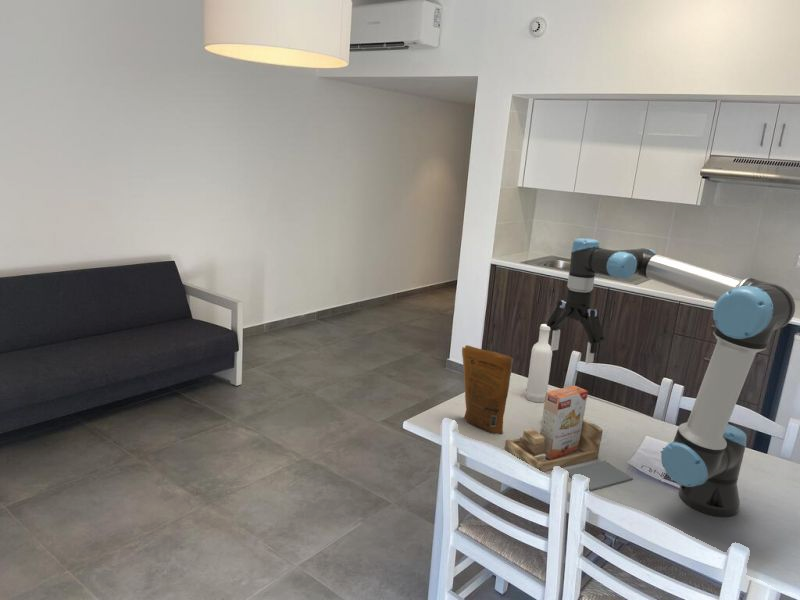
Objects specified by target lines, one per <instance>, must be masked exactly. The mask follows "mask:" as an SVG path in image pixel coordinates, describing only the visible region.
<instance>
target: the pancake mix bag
mask: <svg viewBox="0 0 800 600" xmlns="http://www.w3.org/2000/svg"><path fill="white" fill-rule="evenodd" d="M461 355H462V368H463V370H462V371H463V381H464V384H463V385H464V393H465V394H464V399H465V408H466V409H465V410H466V411H465V414H464V420H465V422H466V423H468V424H471V425H472V426H475V427H477V428H479V429H482V430H484V431H486V432H488V433H490V434H495V435H496V434H498V435H499V434H504V430H503V429H504V415H505V410H506V404H507V398H508V394H509V389H510V388H509V387H510V383H511V382H510V381H511V375H512V369H513V363H514V358H512V357H511V356H509V355H507V354H503V353H500V352H496V351H492V350H486V349H483V348H478V347H474V346H471V345H468V344H466V345H465V346H464V347H463V346H462V349H461Z"/></svg>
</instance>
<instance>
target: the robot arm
mask: <svg viewBox="0 0 800 600" xmlns="http://www.w3.org/2000/svg"><path fill="white" fill-rule="evenodd" d="M570 254H571V255H570V265H569V271H568V278H567V286H566V287H567V289H566V293H565V294H566V296H565V300H564V299H562V300H558V301H557V304H556V307H555V309H554V311H553V312H552V314H551V315H550V317H549V319H548V321H547V323H546V324H547V326H549V327H550V340H551V343H550V346H551V350H552V352H553V351H558V350H559V345H560V344H559V343H560V337H561V330H560V328H561V327H562V326H563V325H564V324H565V323H567V321H568V320H569V319H571V320H575V321H578V322H579V323H581V324H582V327H583V328H584V331H585V333H586V335H587V337H588V339H589V341H588V342H587V347H586V355H585V360H584V361H585V364H591V363H594V358H595V354H596V353H598V352H597V350H598V344H599V343H604V342H605V336H604V332H603V329H602V326H601V322H600V317H599V316H600V315H599V312H600V311H599V309H598V308H597V309H596V308H595V309H593V308H592V309H591V308H590V307H591V306H590V305H591V303H592V301H593V300H592V299H593V289H594V284H595V277H596V276H595V275H596V274H597V275H602V276H607V277H611V278H614V279H616V280H617V279H621V280H628V279H630V278H631V277H633V275H637V276H640V277H643V278H646V279H649V280H652V281H655V282H658V283H660V284H664V285H666V286H669V287H673V288H675V289H678V290H682V291H684V292H688V293H690V294H692V295H696V296H699V297H702V298H705V299H708V300H710V301H712V302H715V304H714V307H713V310H712V319H713V321H714V322H715V327H714V329H713V335H714V337H715V338H716V340H717V341H716V343H715V346H714V349H713V352H712V355H711V358H710V360H709V363H708V366H707V369H706V371H705V373H704V377H703V378H702V382H701V385H700V387H699V390H698V393H697V395H696V398H695V400H694V403H693V406H692V409H691V412H690V415H689V416H688V419H687V421H686V422H684V423H683V422H682V423H681V424H679V425H678V428H677V431H676V433H675V436H674V439H673V441H672V442H669V443H667V445H666V446H665V447H664V448H663V449H662V451H661V456H660V458H661V459H660V460H661V461H660V462H661V465H662V467H663V468H664V470H665V472H666V474H667V476H668V477H669V478H670V479H671V480H673V482H675V483H677V484H678V485H680V486H679V490H678V496H679V497H680V499H681V501H683V502H684V503H685V504H686V505H687V506H689V507H691V508H693V509H694V510H696V511H699V512H702V513H704V514H707V515H711V516H715V517H724V518H725V517H727V518H728V517H732V516H735V515H737V514H738V513H739V509H740V503H741V501H740V496H739V495H740V494H739V489H738V480H739V475H740V473H741V467H742V462H743V458H744V455H745V450H746V447H747V437H748V436H747V434H746V433H745V432H744V431H743V430H742V429H740V428H739V427H736V426H734V425H731V424H729V422H730V420H731V416H732V414H733V412H734V409H735V407H736V405H737V402H738V399H739V397H740V394H741V392H742V389H743V388H744V387H743V386H744V384H745V382H746V379H747V377H748V374H749V372H750V369H751V367H752V365H753V362H754V359H755V357H756V354H757V353H759V352H763V351H765V350H766V349H767V346H768V344H769V342H770V339H771V337H772V334H773V332H774V331H777V330H780V329H782V328H783V327H785V326H787V325H788V324H789V323H790V322H791V321H792V319H793V317H794V316H795V312H796V302H795V299H794V297H793V296H792V294H791V293H790V292H789V291H788V290H787V289H786V288H784V287H783V286H781V285H778V284H776V283H772V282H768V281H767V282H766V281H764V280H763V281H762V280H759V279H755V278H752V277H747V278H744V279H742V278H737V277H734V276H731V275H728V274H725V273H721V272H719V271H715V270H712V269H708V268H705V267H702V266H699V265H694V264H691V263H688V262H685V261H681V260H678V259H675V258H671V257H668V256H664V255H661V254H657V252H655V250H653V249H650V248H644V247H642V248H634V249H617V250H616V249H614V250H613V249H606V248H601V247H600V241H599V240H597V239H593V238H586V237H585V238H583V237H582V238H580V237H578V238H575V239H574V240H573V242H572V248H571V252H570ZM564 310H565V312H563V311H564ZM562 313H563V314H562Z"/></svg>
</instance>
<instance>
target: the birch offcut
mask: <svg viewBox="0 0 800 600" xmlns="http://www.w3.org/2000/svg"><path fill="white" fill-rule="evenodd" d="M519 447H520V446H519ZM520 448H521V447H520ZM522 449H523V448H522ZM523 450H524V449H523ZM525 451H526V450H525ZM526 452H527V451H526ZM527 453H529V452H527ZM529 454H530V455H532V454H531V453H529ZM532 456H533V457H534V458H536V459H537V460H539V461H540V462H544V461H546V459H547V458H546V455H545V454H540V455H536V456H534V455H532Z"/></svg>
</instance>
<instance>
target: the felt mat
mask: <svg viewBox="0 0 800 600" xmlns="http://www.w3.org/2000/svg"><path fill="white" fill-rule="evenodd" d="M566 470H567V471H568V472H569V476H568V477H570V478H571V479H572V476H573V475H574V474H581V475H584V476H586V477H588V478H590V482H589V490H588V491H589V492H592V491H596V490H599V489H600V490H601V489H604V488H608V487H612V486H615V485H618V484H622V483H627V482H629V481H632V480H634V478H633V476H630V475H629V474H628V473H625V472H624V471H622V470H621V469H620V468H618V467H616V466H615V465H613V464H611V463H610V462H608V461H606V460H601V461H598V462H593V463H588V464H586V465H585V464H584V465H580V466H577V467H573V468H568V469H566Z"/></svg>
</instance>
